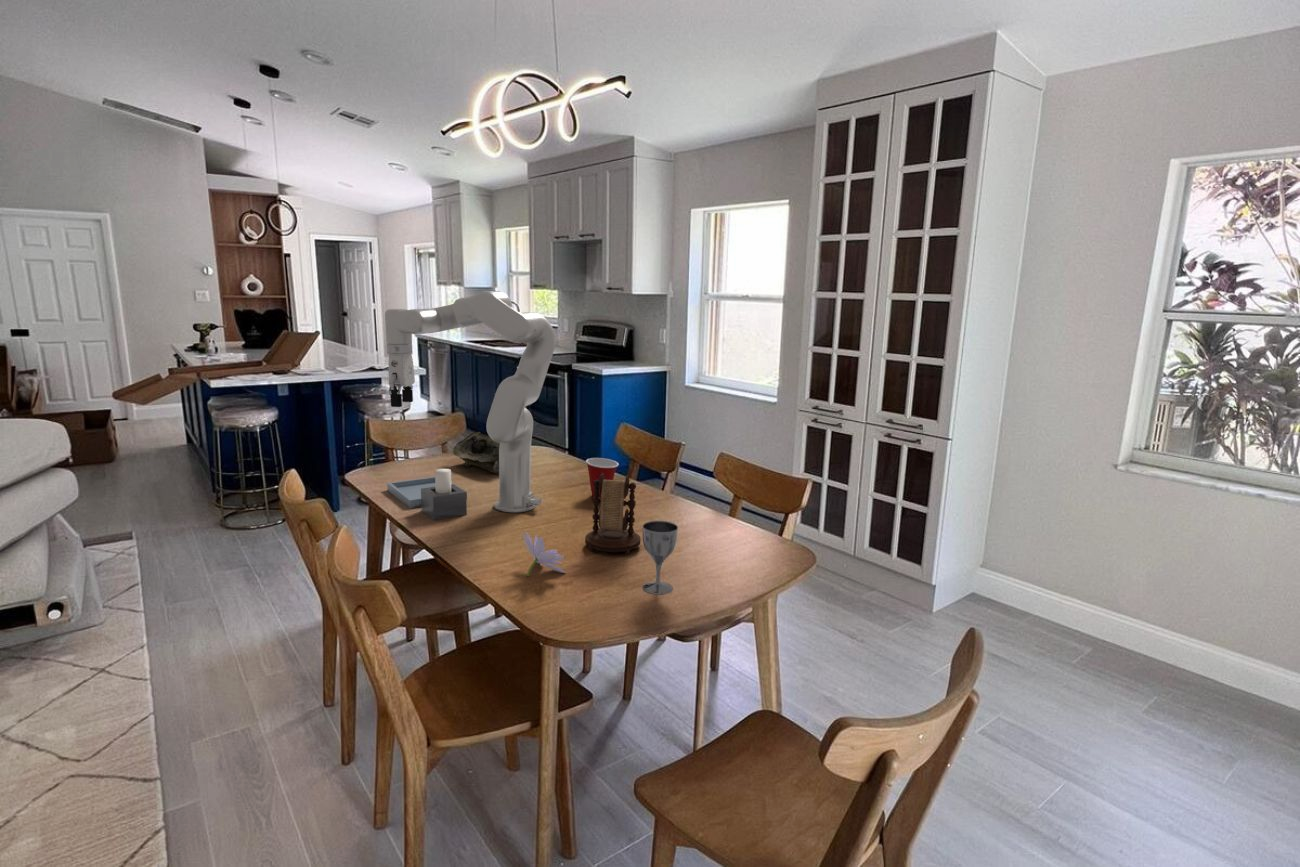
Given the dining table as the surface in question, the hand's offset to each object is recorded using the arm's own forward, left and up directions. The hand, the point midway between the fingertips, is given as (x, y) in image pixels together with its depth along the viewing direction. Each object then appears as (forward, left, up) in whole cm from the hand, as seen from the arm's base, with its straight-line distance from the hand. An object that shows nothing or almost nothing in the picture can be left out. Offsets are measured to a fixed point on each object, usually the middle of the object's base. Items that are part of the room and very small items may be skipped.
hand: (402, 404), depth 216 cm
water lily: (-69, +38, -30) cm, 84 cm away
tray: (-6, -2, -29) cm, 30 cm away
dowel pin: (-22, +11, -28) cm, 37 cm away
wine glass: (-97, +36, -30) cm, 107 cm away
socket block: (-22, +11, -29) cm, 38 cm away
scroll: (-78, +16, -30) cm, 85 cm away
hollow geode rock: (-6, -37, -30) cm, 48 cm away
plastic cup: (-58, -25, -30) cm, 70 cm away
